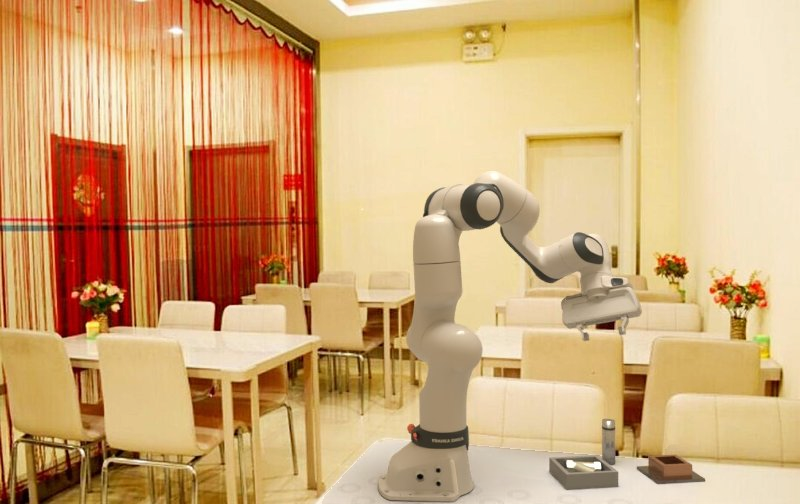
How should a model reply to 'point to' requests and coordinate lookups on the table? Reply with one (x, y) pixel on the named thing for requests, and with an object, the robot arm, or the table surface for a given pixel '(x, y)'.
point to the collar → (669, 470)
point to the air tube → (608, 441)
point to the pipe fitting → (582, 466)
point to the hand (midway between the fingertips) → (603, 337)
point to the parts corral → (583, 473)
